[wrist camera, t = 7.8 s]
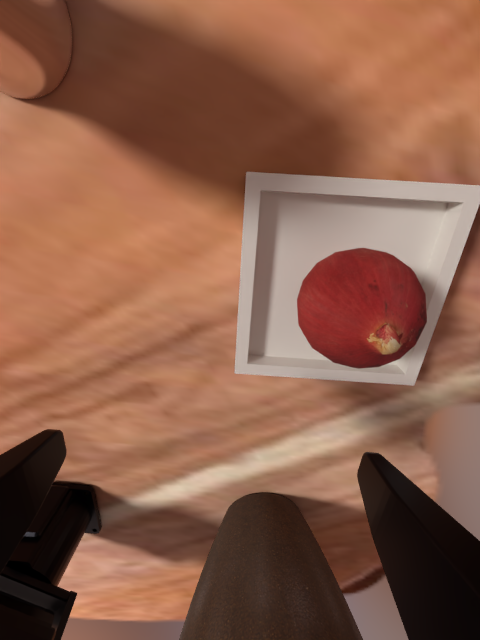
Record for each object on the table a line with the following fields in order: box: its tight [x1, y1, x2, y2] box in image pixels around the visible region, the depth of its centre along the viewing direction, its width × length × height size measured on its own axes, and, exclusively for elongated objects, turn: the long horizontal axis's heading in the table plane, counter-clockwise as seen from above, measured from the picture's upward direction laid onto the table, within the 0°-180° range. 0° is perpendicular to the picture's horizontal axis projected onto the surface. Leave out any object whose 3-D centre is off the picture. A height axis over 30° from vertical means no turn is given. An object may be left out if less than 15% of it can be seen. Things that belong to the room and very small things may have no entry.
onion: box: [297, 248, 427, 369], centre depth 14 cm, size 6×6×8 cm
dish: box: [235, 172, 480, 386], centre depth 17 cm, size 12×12×2 cm
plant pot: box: [179, 493, 363, 640], centre depth 20 cm, size 15×15×16 cm
